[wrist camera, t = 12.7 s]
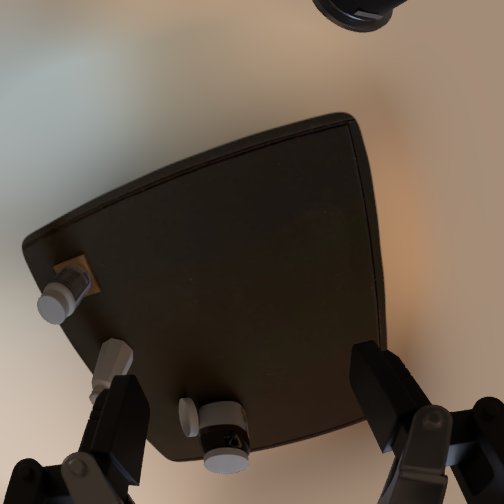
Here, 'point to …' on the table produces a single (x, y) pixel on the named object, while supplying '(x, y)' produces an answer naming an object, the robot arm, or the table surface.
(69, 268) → the pill bottle
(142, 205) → the table surface
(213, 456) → the spread jar
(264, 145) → the table surface
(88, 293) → the coaster
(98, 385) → the pepper shaker
